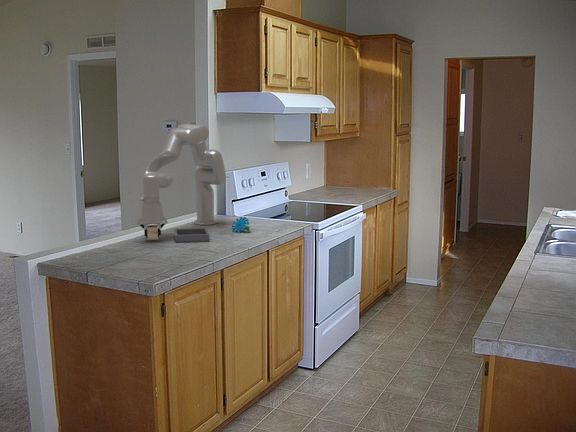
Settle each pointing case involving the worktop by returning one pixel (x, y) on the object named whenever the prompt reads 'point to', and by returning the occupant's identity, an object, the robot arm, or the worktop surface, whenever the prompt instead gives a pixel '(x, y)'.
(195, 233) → the tray
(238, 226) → the gear
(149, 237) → the maple block
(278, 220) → the worktop surface
